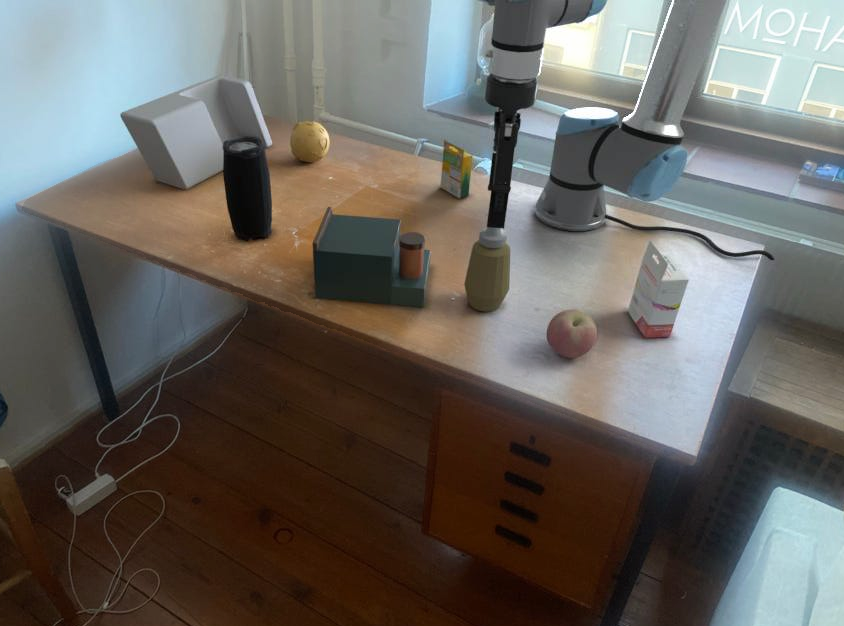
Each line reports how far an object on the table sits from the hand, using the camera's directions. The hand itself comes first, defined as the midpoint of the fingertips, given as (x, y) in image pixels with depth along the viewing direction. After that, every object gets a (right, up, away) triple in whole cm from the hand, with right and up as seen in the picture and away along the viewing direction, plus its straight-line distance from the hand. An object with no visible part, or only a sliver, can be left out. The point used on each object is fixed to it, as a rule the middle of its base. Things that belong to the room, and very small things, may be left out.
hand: (495, 207), depth 118 cm
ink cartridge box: (+28, -19, +8) cm, 35 cm away
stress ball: (-37, +25, +61) cm, 76 cm away
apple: (+12, -24, +1) cm, 27 cm away
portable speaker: (-46, +1, +32) cm, 56 cm away
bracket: (-62, +22, +57) cm, 87 cm away
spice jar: (-14, -9, +12) cm, 21 cm away
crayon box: (-2, +14, +49) cm, 51 cm away
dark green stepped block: (-20, -11, +17) cm, 29 cm away
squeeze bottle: (0, -15, +12) cm, 19 cm away
